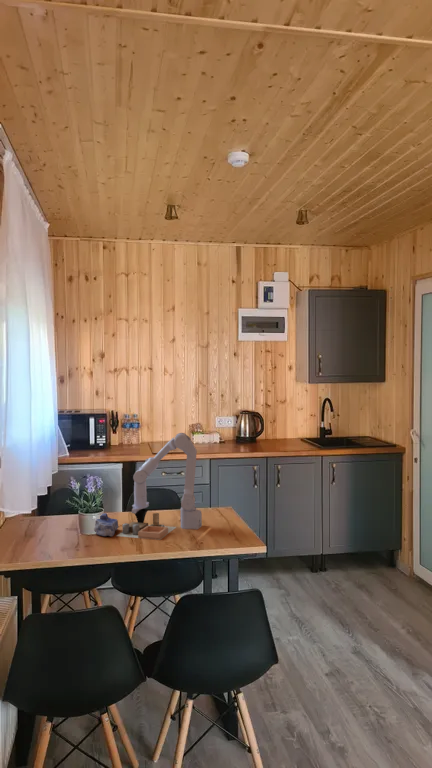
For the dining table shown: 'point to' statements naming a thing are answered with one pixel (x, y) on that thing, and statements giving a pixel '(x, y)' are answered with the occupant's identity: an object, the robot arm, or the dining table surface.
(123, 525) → the jig board
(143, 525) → the square tan tile
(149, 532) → the tray
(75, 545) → the dining table surface
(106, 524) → the mineral
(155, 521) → the dowel
